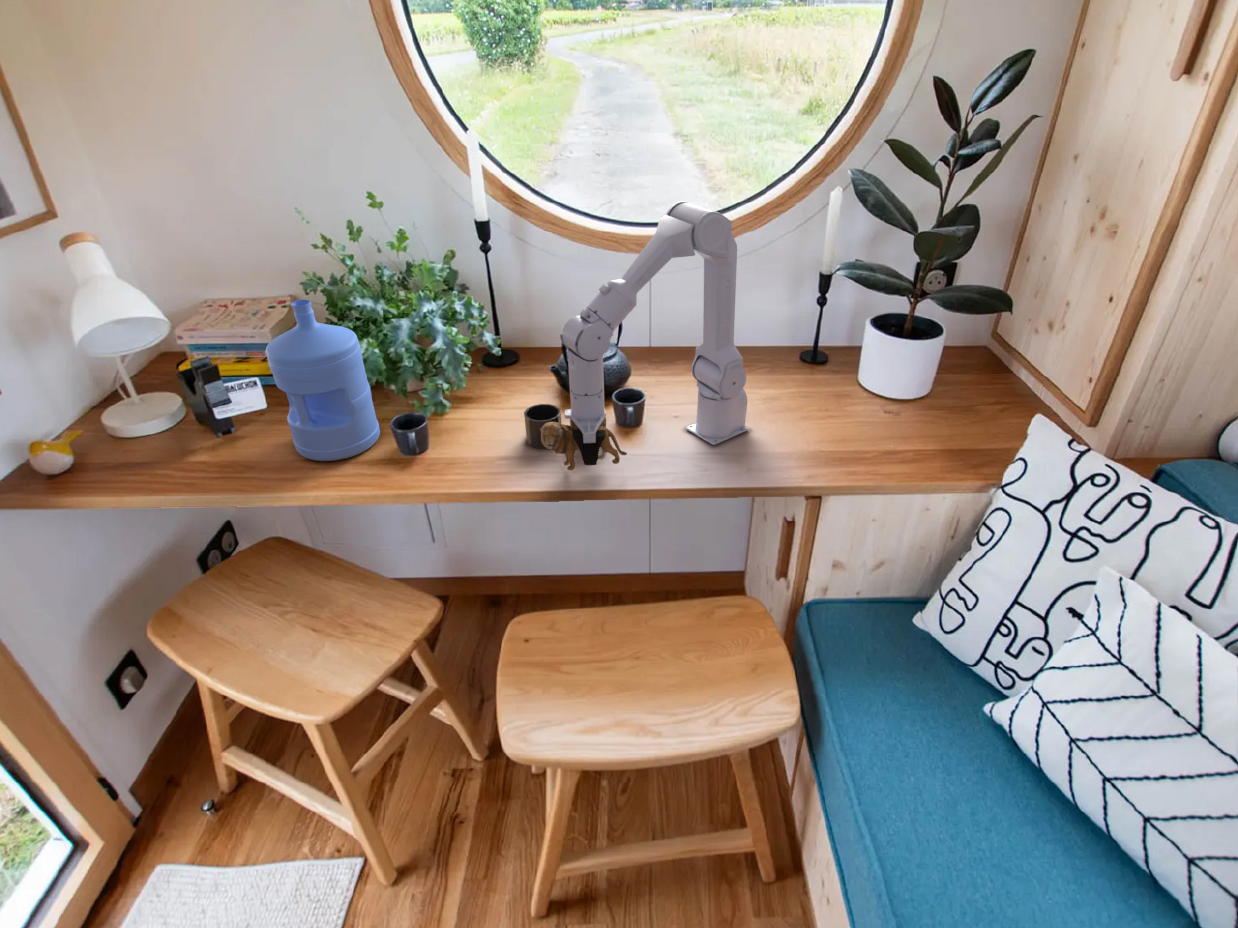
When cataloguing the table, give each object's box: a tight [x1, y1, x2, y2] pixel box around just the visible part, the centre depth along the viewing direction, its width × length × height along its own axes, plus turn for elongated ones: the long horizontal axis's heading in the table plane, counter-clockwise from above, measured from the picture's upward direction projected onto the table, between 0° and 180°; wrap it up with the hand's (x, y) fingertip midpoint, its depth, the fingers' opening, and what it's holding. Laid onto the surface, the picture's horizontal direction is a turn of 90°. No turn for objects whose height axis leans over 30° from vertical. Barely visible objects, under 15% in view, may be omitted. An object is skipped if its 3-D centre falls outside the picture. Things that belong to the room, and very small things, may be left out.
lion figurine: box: [540, 422, 628, 471], centre depth 120 cm, size 15×5×9 cm, turn 104°
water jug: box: [265, 299, 381, 462], centre depth 125 cm, size 16×16×28 cm
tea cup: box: [523, 403, 562, 450], centre depth 131 cm, size 7×7×6 cm
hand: (589, 456), depth 121 cm, fingers closed on lion figurine, 4 cm apart
